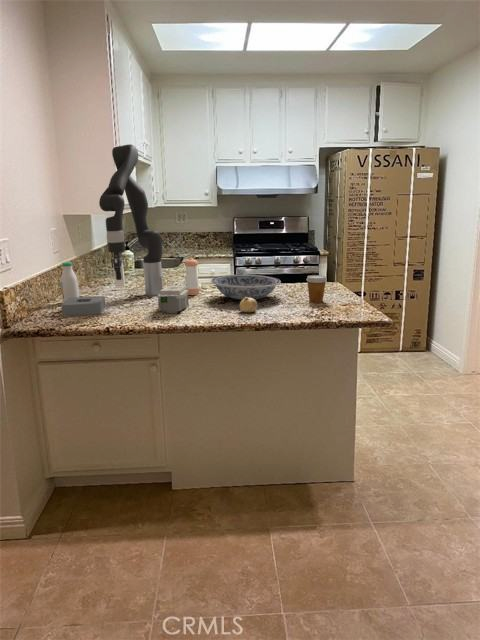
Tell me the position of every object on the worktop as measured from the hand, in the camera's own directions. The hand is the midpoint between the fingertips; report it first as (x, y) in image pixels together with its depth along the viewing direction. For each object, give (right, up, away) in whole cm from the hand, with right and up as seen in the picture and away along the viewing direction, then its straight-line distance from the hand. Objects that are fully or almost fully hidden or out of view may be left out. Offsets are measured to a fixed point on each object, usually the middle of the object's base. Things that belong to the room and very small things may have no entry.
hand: (119, 278), depth 209 cm
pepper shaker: (+30, -6, +32) cm, 44 cm away
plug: (0, -3, +1) cm, 3 cm away
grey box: (+25, -14, +1) cm, 29 cm away
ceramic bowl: (+58, -9, +19) cm, 62 cm away
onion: (+59, -16, -7) cm, 61 cm away
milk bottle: (-28, -11, +17) cm, 35 cm away
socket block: (-16, -15, 0) cm, 22 cm away
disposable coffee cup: (+92, -10, +11) cm, 93 cm away
